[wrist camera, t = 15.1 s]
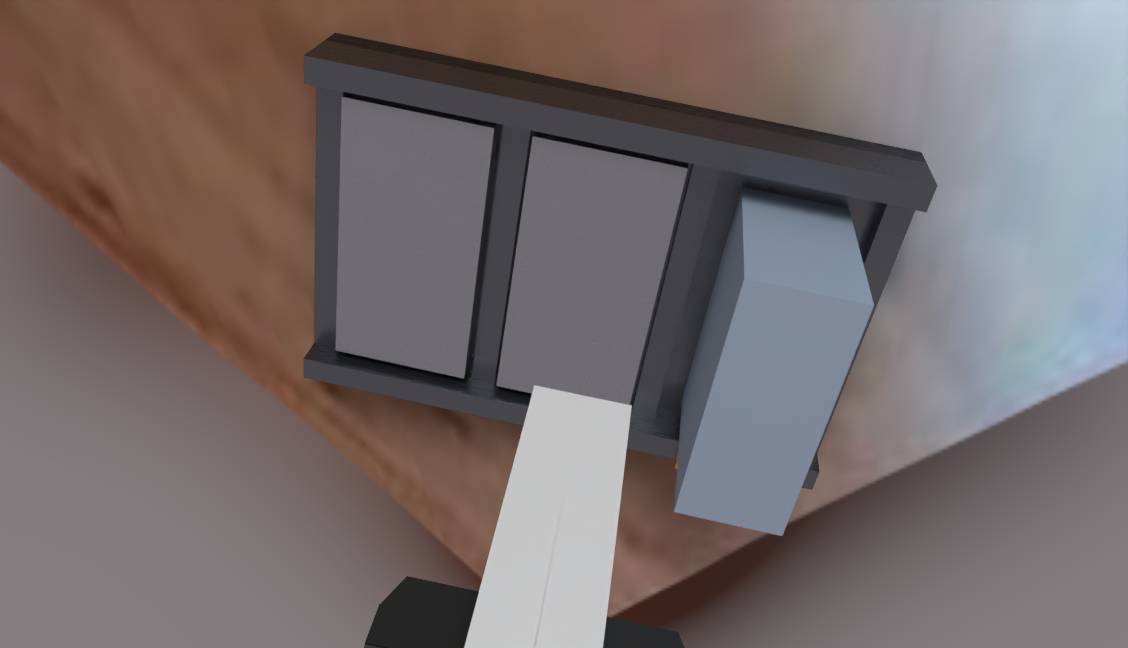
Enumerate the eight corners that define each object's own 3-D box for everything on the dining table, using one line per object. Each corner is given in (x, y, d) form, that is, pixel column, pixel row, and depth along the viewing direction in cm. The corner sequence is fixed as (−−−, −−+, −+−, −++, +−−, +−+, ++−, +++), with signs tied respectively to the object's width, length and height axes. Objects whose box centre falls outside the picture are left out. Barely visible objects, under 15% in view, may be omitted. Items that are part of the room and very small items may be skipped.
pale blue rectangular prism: (682, 398, 40) (673, 512, 34) (741, 186, 34) (744, 278, 28) (774, 418, 39) (782, 535, 34) (849, 208, 34) (874, 305, 28)
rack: (329, 340, 42) (298, 384, 39) (335, 33, 34) (298, 59, 32) (806, 445, 41) (812, 498, 38) (921, 152, 34) (940, 191, 31)
